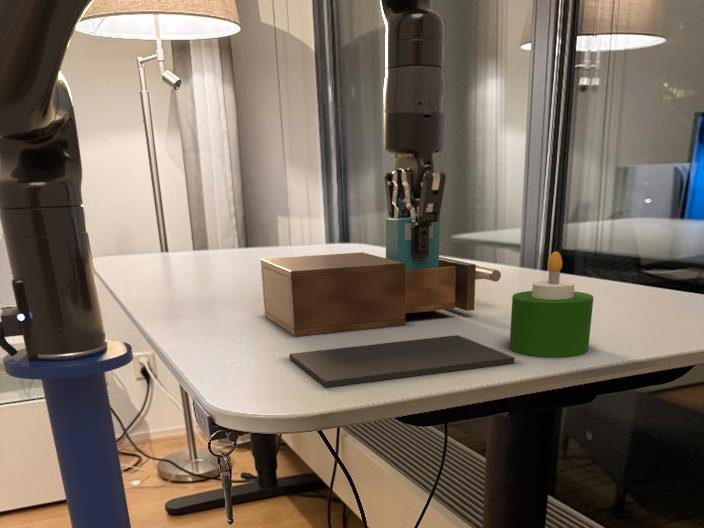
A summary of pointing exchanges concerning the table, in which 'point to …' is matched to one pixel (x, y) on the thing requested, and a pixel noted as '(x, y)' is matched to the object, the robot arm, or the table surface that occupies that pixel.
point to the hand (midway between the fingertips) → (412, 254)
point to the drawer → (444, 286)
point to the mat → (397, 360)
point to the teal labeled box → (401, 244)
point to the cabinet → (333, 292)
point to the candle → (551, 317)
